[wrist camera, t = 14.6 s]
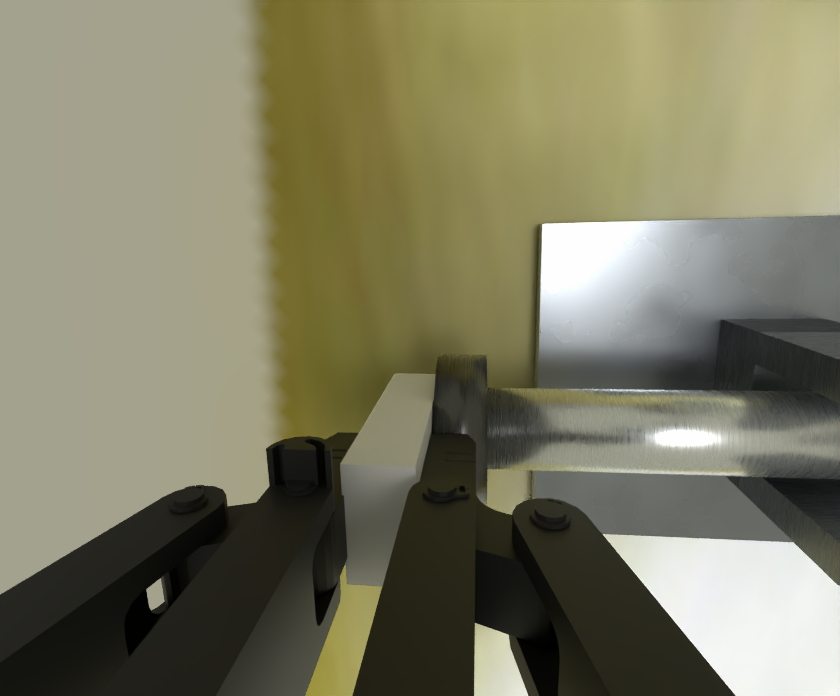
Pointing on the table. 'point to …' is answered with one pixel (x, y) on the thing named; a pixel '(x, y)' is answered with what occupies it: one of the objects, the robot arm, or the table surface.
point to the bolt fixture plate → (694, 358)
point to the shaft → (636, 428)
